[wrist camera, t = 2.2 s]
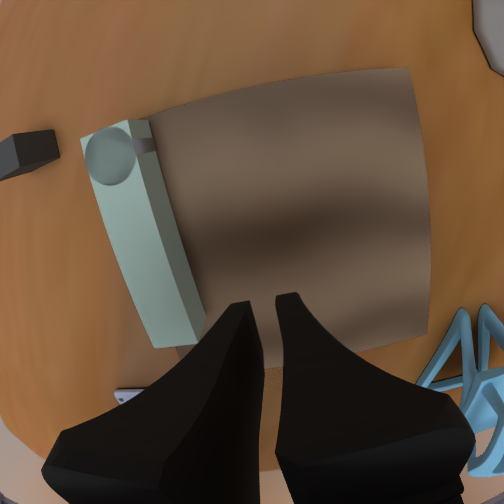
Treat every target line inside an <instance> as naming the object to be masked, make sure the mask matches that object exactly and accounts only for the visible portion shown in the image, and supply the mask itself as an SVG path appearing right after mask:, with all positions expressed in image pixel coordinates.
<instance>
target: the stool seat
mask: <svg viewBox="0 0 504 504" xmlns="http://www.w3.org/2000/svg"><path fill="white" fill-rule="evenodd" d="M139 120H148V122H149V126H150V130H151V134H152V138H153V140H154V142H155V147H156V154H157V157H158V161H159V165H160V169H161V172H162V176H163V180H164V183H165V187H166V190H167V194H168V197H169V201H170V204H171V208H172V211H173V215H174V218H175V221H176V225H177V228H178V231H179V235H180V238H181V241H182V244H183V248H184V251H185V254H186V257H187V260H188V263H189V267H190V270H191V273H192V276H193V279H194V282H195V285H196V288H197V291H198V294H199V297H200V300H201V303H202V306H203V309H204V311H205V314H206V320H205V323H204V326H203V330H202V333H201V336H200V340H201V339H202V338H203V337H204V336H205V334H206V333H207V332H208V331H209V330H210V328H211V327H212V326H213V325H214V324H215V322H216V321H217V320H218V319H219V317H220V316H221V315H222V314H223V312H224V311H225V310H226V309H227V307H228V306H229V305H230V304H231V303H236V302H242V301H248V300H250V303H251V306H252V310H253V314H254V318H255V321H256V325H257V329H258V332H259V336H260V340H261V343H262V347H263V353H264V369H269V368H276V367H282V366H283V342H282V336H281V332H280V327H279V322H278V317H277V312H276V308H275V299H276V295H281V294H287V293H292V292H297V293H298V294H300V297H301V299H302V301H303V303H304V304H305V305H306V307H307V308H308V310H309V311H310V312H311V313H312V315H313V316H314V317H315V318H316V319H317V320H318V321H319V323H320V324H321V325H322V326H323V327H324V328H325V329H326V330H327V331H328V332H329V333H330V334H331V335H333V336H334V337H335V338H336V339H337V340H338V341H339V342H340V343H342V344H343V345H344V346H345V347H347V348H348V349H349V350H351V351H352V352H353V353H355V352H360V351H364V350H368V349H372V348H377V347H381V346H385V345H389V344H392V343H396V342H400V341H404V340H407V339H411V338H414V337H418V336H421V335H425V334H427V330H428V318H429V303H430V279H431V233H430V209H429V194H428V182H427V172H426V163H425V155H424V147H423V140H422V133H421V127H420V121H419V115H418V110H417V104H416V99H415V94H414V90H413V85H412V81H411V76H410V72H409V68H385V69H370V70H358V71H347V72H338V73H330V74H322V75H315V76H308V77H302V78H296V79H290V80H284V81H279V82H273V83H268V84H263V85H258V86H254V87H249V88H245V89H240V90H236V91H232V92H228V93H224V94H220V95H216V96H212V97H208V98H205V99H201V100H198V101H194V102H191V103H187V104H184V105H181V106H177V107H174V108H171V109H168V110H165V111H162V112H159V113H156V114H153V115H150V116H147V117H144V118H141V119H139ZM200 340H199V341H200ZM195 345H196V344H190V345H182V346H175V347H176V349H177V351H178V353H179V356H180V358H181V360H182V359H183V358H184V357H185V356H186V355H187V354H188V353H189V352H190V351H191V350H192V348H193V347H194V346H195Z"/></svg>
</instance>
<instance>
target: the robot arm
mask: <svg viewBox="0 0 504 504" xmlns="http://www.w3.org/2000/svg"><path fill="white" fill-rule="evenodd" d="M275 308H276V312H277V317H278V322H279V327H280V332H281V336H282V342H283V388H282V402H281V414H280V422H279V429H278V436H277V443H276V449H275V454H276V457H277V460H278V462H279V465H280V468H281V471H282V473H283V476H284V478H285V481H286V484H287V486H288V489H289V492H290V494H291V497H292V499H293V502H294V504H464V503H463V500H462V497H461V495H460V494H462V493H463V491H464V486H463V484H462V481H461V478H460V476H459V475H460V473H461V471H462V470H463V468H464V466H465V464H466V463H467V461H468V459H469V457H470V456H471V454H472V451H473V449H474V446H475V443H476V440H475V434H474V432H473V430H472V428H471V426H470V424H469V422H468V421H467V419H466V417H465V416H464V414H463V413H462V412H461V410H460V409H459V407H458V406H457V405H456V404H455V402H454V401H453V400H452V398H451V397H450V396H449V395H448V394H445V393H442V392H438V391H435V390H432V389H428V388H425V387H422V386H419V385H415V384H412V383H410V382H407V381H405V380H403V379H400V378H398V377H396V376H393V375H391V374H389V373H387V372H385V371H383V370H381V369H379V368H378V367H376V366H374V365H372V364H370V363H368V362H367V361H365V360H364V359H362V358H361V357H359V356H358V355H356V354H355V353H353V352H352V351H351V350H349V349H348V348H347V347H345V346H344V345H343V344H342V343H340V342H339V341H338V340H337V339H336V338H335V337H334V336H333V335H331V334H330V333H329V332H328V331H327V330H326V329H325V328H324V327H323V326H322V325H321V324H320V323H319V321H318V320H317V319H316V318H315V317H314V316H313V315H312V313H311V312H310V311H309V310H308V308H307V307H306V305H305V304H304V303H303V301H302V299H301V297H300V294H298V293H297V292H292V293H287V294H281V295H276V299H275ZM264 378H265V373H264V353H263V347H262V343H261V340H260V336H259V332H258V329H257V325H256V321H255V318H254V314H253V310H252V306H251V303H250V300H248V301H242V302H236V303H231V304H230V305H229V306H228V307H227V309H226V310H225V311H224V312H223V314H222V315H221V316H220V317H219V319H218V320H217V321H216V322H215V324H214V325H213V326H212V327H211V328H210V330H209V331H208V332H207V333H206V334H205V336H204V337H203V338H202V339H201V340H200V341H199V342H198V343H197V344H196V345H195V346H194V347H193V348H192V350H191V351H190V352H189V353H188V354H187V355H186V356H185V357H184V358H183V359H182V360H181V361H180V362H179V363H178V364H176V365H175V366H174V367H173V368H172V369H171V370H170V371H168V372H167V373H166V374H165V375H164V376H162V377H161V378H160V379H159V380H157V381H156V382H154V383H153V384H152V385H150V386H149V387H147V388H146V389H120V390H115V392H114V396H115V397H116V399H117V400H118V402H119V403H120V405H119V406H117V407H116V408H114V409H112V410H110V411H108V412H106V413H104V414H102V415H100V416H98V417H96V418H93V419H91V420H89V421H86V422H84V423H81V424H79V425H76V426H74V427H71V428H69V429H66V430H63V431H61V433H60V435H59V436H58V438H57V440H56V442H55V444H54V446H53V448H52V450H51V451H50V453H49V455H48V457H47V459H46V461H45V463H44V465H43V467H42V469H41V472H42V475H43V478H44V480H45V481H46V482H47V484H48V485H49V486H50V487H51V488H52V489H53V490H54V491H55V492H56V493H57V494H58V495H60V496H61V497H62V498H63V499H65V500H66V501H67V502H68V503H69V504H260V486H259V430H260V420H261V410H262V400H263V389H264ZM0 504H18V503H16V502H14V501H12V500H10V499H8V498H6V497H4V495H3V494H2V493H1V492H0ZM482 504H504V492H503V493H501V494H499V495H497V496H495V497H493V498H491V499H489V500H487V501H485V502H483V503H482Z"/></svg>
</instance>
